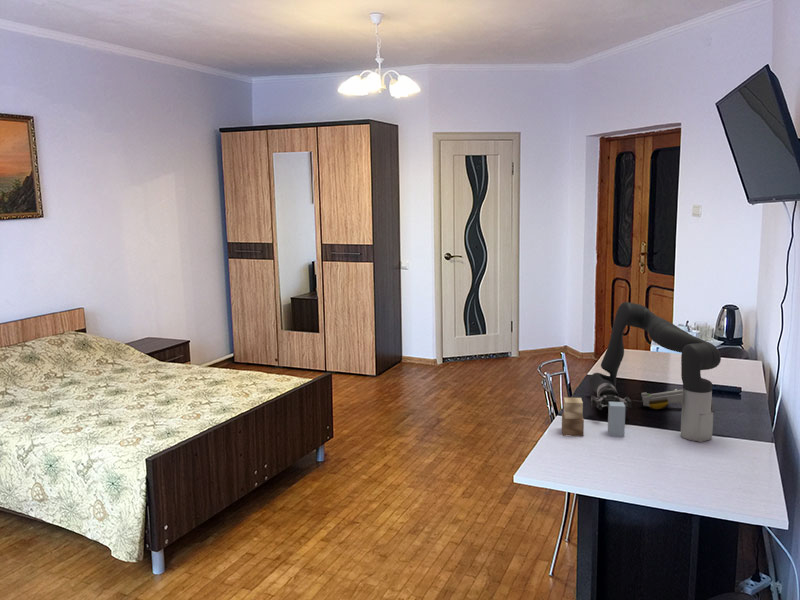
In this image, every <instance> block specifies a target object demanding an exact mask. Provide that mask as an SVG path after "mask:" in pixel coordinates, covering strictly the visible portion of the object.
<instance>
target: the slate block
mask: <svg viewBox="0 0 800 600" xmlns="http://www.w3.org/2000/svg"><path fill="white" fill-rule="evenodd" d="M607 408H608V413H607V433H608V435H609V437H623V438H625V432H626V431H625V429H626V427H625V426H626V411H625V405H624V403H623V402H609V407H607Z"/></svg>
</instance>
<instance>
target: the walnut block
mask: <svg viewBox="0 0 800 600" xmlns="http://www.w3.org/2000/svg"><path fill="white" fill-rule="evenodd" d="M584 425H585V419H584V415H583V416H582V419H565V417H564V412H561V432H563V433H562V436H566V435H571V436H572V437H584V430H585V429H584V428H585V426H584Z"/></svg>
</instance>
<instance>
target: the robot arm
mask: <svg viewBox="0 0 800 600" xmlns="http://www.w3.org/2000/svg"><path fill="white" fill-rule="evenodd" d="M627 326H629V327H633V328H639V329H642V330H643V331H645V332H647V334H648V337H649V338H650V340H651V341H652V342H654V343H655V344H657V345H658V346H660V347H661V348H664V349H666V350H669V351H673V352H677V353H681V357H680V358H681V360H680V361H681V362H680V364H681V367H680V369H681V370H680V371H681V374H680V375H681V376H680V377H681V381H682V389H683V394H682V406H681V416H680V417H681V419H680V437H681V438H683V439H685V440H689V441H693V442H699V443H702V442H703V443H704V442H706V441H710V440H713V428H714V427H713V425H714V411H712V412H711V399H712V400H713V396H712V395H713V394H712V393H713V382H712V381H711V380H710V379H706V378H703V377H702V373H701V371H707V370H713V369H715V368H717V367H718V366H719V365H720V363H721V359H722V356H721V352H720V351H719V349H718V348H717V347H716V346H715V345H714V344H713V343H711V342H710V341H709V342H708V341H706V340H704V339H701V338H699V337H697V336H695V335H693V334H690V333H689V332H687V331H685V330H683V329H682V328H680V327H678V326H677V325H675V324H674V323H672V322H670V321H668V320H666V319H665V318H663V317H660V316H658V315H656V314H655V313H654V312H652V311H651V310H650V309H649V308H648V307H646V306H645V305H642V304H639V303H634V302H628V301H624V302H622V303H621V304H620V305H619V306H618V308H617V311H616V313H615V316H614V321H613V325H612V330H611V334H610V338H609V343H608V346H607V349H606V350H605V352H604V356H603V359H602V361H601V363H600V367H601V369H602V370H604V372H606V373H608V374H609V375H606V374H603V373H601V372H594V373H592V374H591V375H590V377H589V381H588V383H589V387H590V388H591V389H592V390H593V391H594V392H595V393H596V396H597V397H596V396H595V395H591V396H590V404H591V407H596V408H597V409H598V410H600V411H603V408H608V407H609V402H623V403H624V405H625V412H626V411H628V410H629V409H632V400H631V399H630V398H629V396H625V397H624V398H622V397H620V395H619V393H618V391H617V389H616V388H617V387H616V385H617V376H618V371H619V368H620V366H621V364H622V361H623V359H624V355H625V347H624V337H623V336H624V331H625V329H626V327H627Z"/></svg>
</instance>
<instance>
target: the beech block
mask: <svg viewBox="0 0 800 600" xmlns="http://www.w3.org/2000/svg"><path fill="white" fill-rule="evenodd" d="M583 410H584V402H583V400H582V397H568V396H567V397H563V413H564V417H565V419H582V416H583V417H584V415H583Z"/></svg>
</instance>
